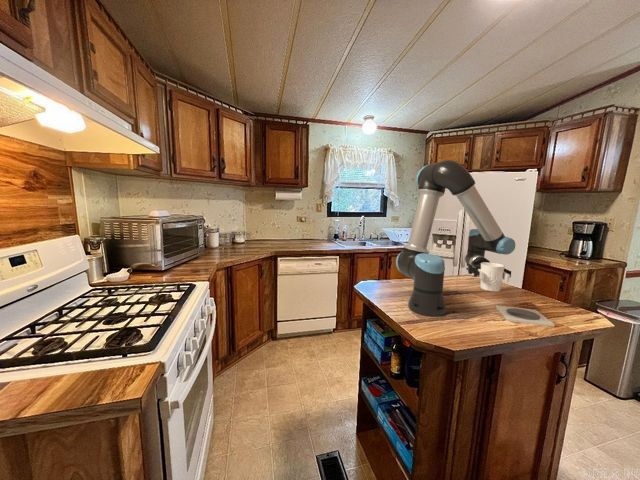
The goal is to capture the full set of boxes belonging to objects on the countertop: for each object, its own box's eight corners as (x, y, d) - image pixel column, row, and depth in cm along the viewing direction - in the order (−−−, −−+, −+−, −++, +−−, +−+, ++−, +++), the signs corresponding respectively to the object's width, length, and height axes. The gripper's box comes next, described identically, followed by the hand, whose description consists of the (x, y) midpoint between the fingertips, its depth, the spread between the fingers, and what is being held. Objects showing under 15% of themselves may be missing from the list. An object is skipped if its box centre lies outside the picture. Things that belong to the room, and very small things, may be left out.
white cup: (490, 292, 100) (493, 267, 99) (473, 286, 108) (476, 262, 106) (506, 291, 102) (509, 266, 101) (489, 285, 110) (491, 261, 108)
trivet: (507, 320, 103) (507, 318, 103) (495, 307, 117) (495, 304, 117) (554, 326, 98) (554, 324, 98) (536, 311, 112) (536, 309, 112)
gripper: (505, 274, 118) (526, 290, 97) (454, 270, 125) (464, 283, 103) (506, 258, 117) (528, 270, 96) (456, 255, 124) (466, 265, 102)
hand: (495, 277), depth 100 cm, fingers closed on white cup, 8 cm apart
